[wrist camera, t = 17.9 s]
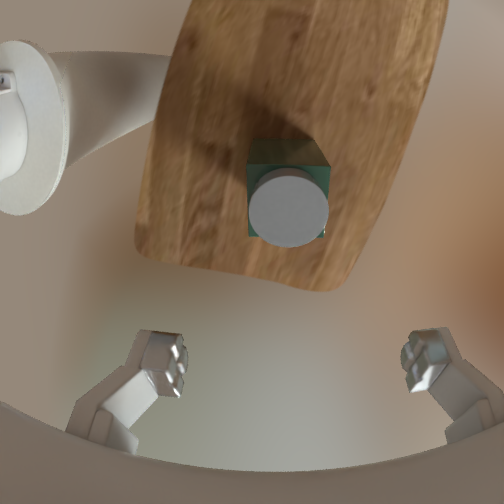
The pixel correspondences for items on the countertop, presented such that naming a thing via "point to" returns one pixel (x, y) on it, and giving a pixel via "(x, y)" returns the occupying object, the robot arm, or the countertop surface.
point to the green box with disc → (287, 191)
